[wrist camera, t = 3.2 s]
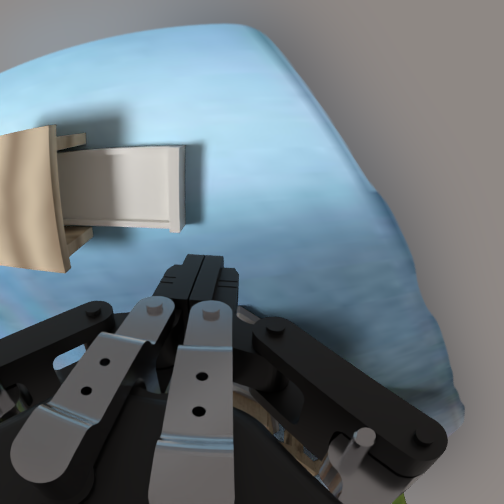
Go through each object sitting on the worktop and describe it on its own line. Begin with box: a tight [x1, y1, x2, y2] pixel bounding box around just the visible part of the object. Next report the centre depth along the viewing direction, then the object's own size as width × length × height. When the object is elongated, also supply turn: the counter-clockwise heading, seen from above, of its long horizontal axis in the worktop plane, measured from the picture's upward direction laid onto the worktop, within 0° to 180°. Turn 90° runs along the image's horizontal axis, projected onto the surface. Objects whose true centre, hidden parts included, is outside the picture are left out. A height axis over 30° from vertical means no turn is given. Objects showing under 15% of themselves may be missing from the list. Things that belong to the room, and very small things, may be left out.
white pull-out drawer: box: [57, 145, 185, 233], centre depth 28 cm, size 15×8×2 cm, turn 87°
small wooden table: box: [0, 125, 93, 273], centre depth 26 cm, size 11×14×7 cm
